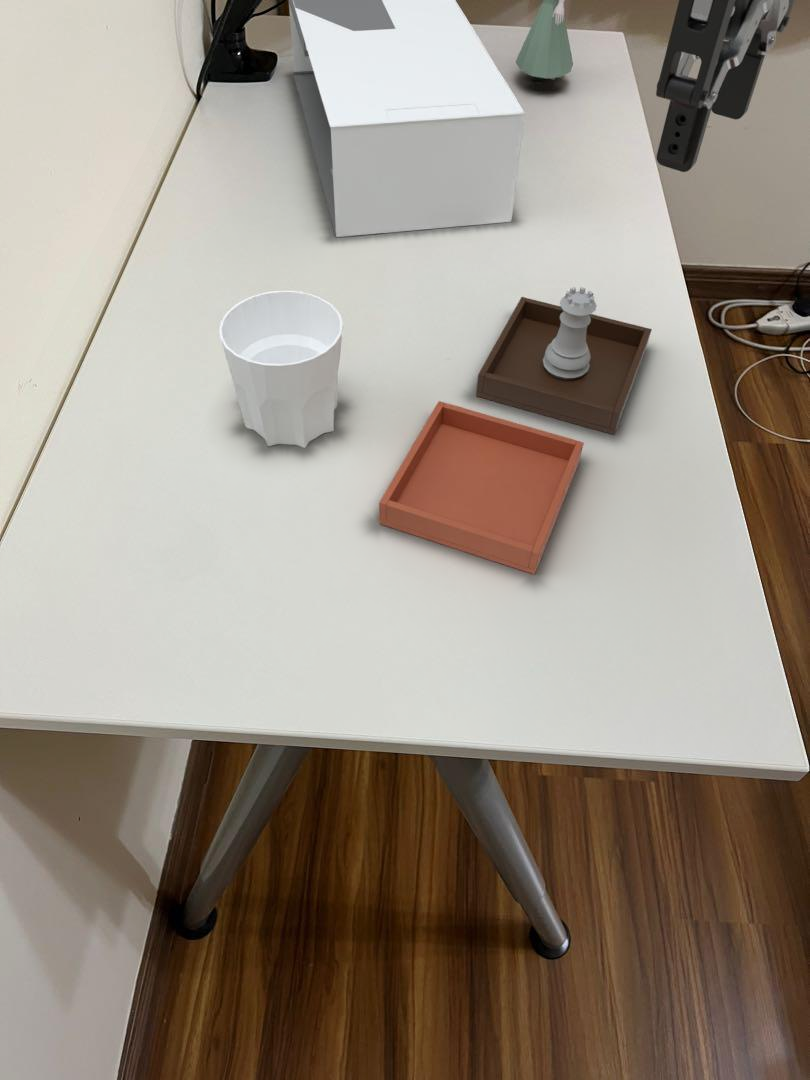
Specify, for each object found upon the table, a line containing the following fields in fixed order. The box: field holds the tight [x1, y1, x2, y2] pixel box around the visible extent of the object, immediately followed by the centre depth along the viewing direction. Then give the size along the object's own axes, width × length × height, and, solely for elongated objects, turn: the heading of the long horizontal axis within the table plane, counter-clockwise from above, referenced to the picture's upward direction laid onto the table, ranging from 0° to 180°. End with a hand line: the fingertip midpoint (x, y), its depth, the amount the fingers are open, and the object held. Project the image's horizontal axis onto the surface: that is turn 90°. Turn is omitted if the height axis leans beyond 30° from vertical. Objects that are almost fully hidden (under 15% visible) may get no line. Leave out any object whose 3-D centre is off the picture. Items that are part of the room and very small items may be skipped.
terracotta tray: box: [378, 400, 585, 575], centre depth 70 cm, size 13×13×3 cm
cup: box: [218, 290, 344, 449], centre depth 73 cm, size 10×10×10 cm
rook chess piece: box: [543, 286, 598, 380], centre depth 78 cm, size 4×4×8 cm
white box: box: [287, 0, 526, 238], centre depth 106 cm, size 45×21×12 cm, turn 11°
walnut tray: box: [475, 296, 652, 436], centre depth 80 cm, size 13×13×3 cm
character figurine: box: [515, 0, 574, 91], centre depth 117 cm, size 16×8×18 cm, turn 178°
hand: (701, 139), depth 52 cm, fingers open, 8 cm apart
